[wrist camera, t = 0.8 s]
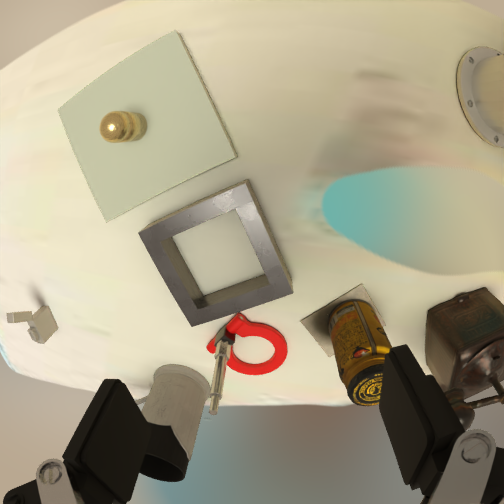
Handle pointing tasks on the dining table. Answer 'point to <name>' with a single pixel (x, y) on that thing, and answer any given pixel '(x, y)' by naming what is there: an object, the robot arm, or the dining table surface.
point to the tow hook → (226, 357)
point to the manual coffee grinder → (467, 350)
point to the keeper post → (122, 126)
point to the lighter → (36, 323)
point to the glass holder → (172, 420)
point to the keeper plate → (158, 127)
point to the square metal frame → (233, 297)
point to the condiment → (353, 343)
